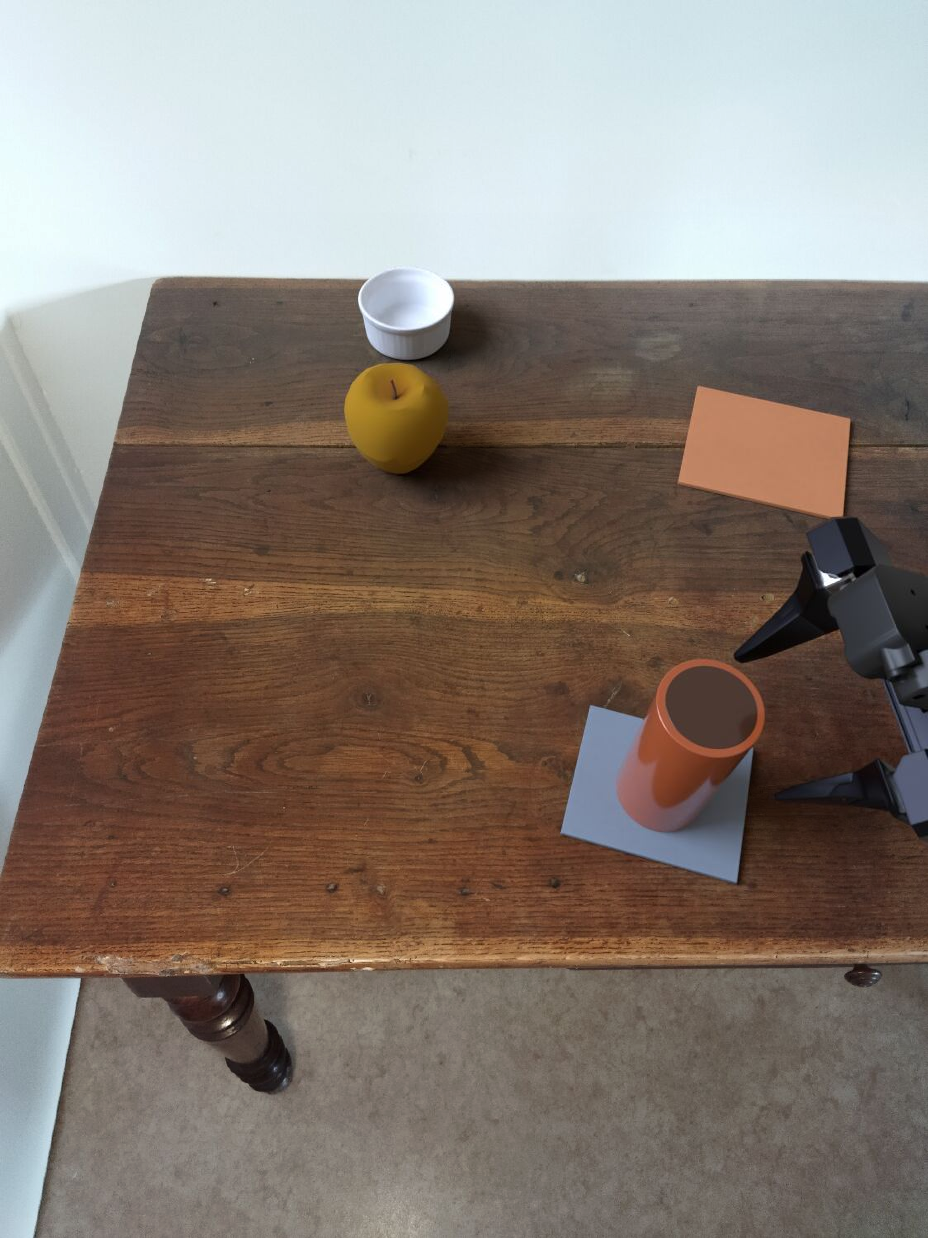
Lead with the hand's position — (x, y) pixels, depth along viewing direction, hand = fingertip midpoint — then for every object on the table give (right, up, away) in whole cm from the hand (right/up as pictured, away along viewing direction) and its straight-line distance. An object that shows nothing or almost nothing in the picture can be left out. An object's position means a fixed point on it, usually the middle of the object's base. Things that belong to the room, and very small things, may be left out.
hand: (755, 726), depth 53 cm
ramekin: (-23, +34, +32) cm, 52 cm away
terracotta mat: (+9, +21, +25) cm, 34 cm away
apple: (-23, +21, +24) cm, 39 cm away
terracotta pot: (-4, -5, +8) cm, 11 cm away
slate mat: (-4, -6, +9) cm, 11 cm away
